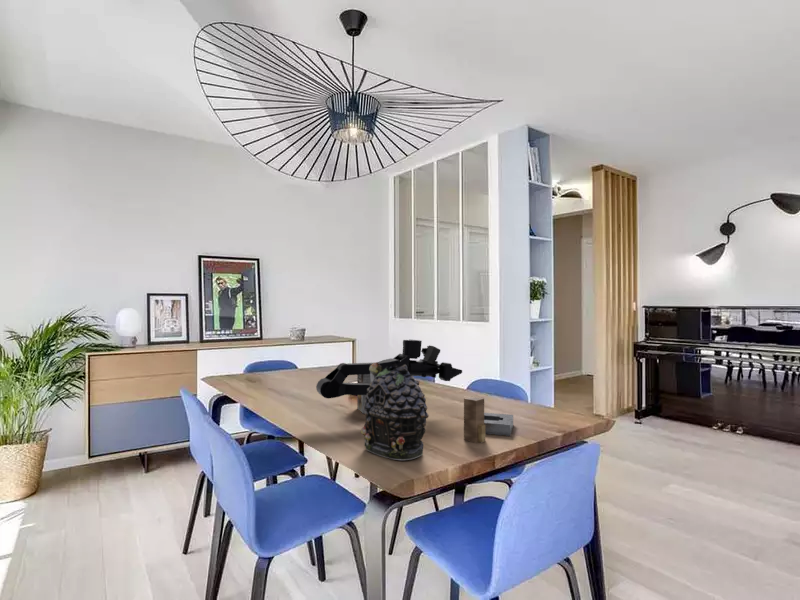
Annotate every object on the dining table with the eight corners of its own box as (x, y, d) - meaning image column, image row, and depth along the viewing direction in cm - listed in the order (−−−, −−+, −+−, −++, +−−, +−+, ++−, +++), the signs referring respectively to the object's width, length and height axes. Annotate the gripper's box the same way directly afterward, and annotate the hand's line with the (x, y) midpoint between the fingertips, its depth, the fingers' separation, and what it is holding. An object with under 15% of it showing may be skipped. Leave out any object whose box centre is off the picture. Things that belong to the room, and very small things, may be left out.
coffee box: (356, 408, 178) (356, 367, 178) (372, 407, 180) (372, 367, 180) (361, 413, 169) (362, 370, 169) (378, 412, 171) (378, 370, 171)
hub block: (465, 432, 145) (465, 421, 145) (472, 421, 158) (472, 411, 158) (510, 436, 140) (510, 425, 140) (513, 425, 154) (513, 414, 154)
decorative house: (348, 450, 126) (349, 361, 126) (385, 438, 137) (385, 357, 138) (404, 468, 112) (405, 368, 112) (440, 453, 123) (440, 362, 124)
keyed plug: (463, 439, 136) (463, 398, 137) (472, 436, 140) (472, 396, 140) (479, 443, 133) (479, 401, 133) (487, 440, 136) (487, 399, 136)
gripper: (432, 348, 156) (470, 350, 162) (409, 344, 173) (445, 346, 179) (429, 380, 155) (468, 381, 161) (407, 373, 172) (443, 374, 178)
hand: (455, 369), depth 170 cm, fingers open, 9 cm apart
